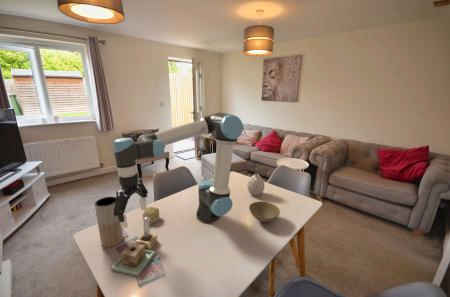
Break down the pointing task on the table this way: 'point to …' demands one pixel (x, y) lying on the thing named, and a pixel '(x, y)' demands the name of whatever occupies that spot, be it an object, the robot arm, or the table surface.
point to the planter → (108, 222)
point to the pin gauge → (146, 228)
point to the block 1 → (133, 255)
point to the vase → (255, 185)
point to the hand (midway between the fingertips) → (134, 217)
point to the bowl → (264, 211)
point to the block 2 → (150, 243)
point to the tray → (132, 270)
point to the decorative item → (152, 214)
